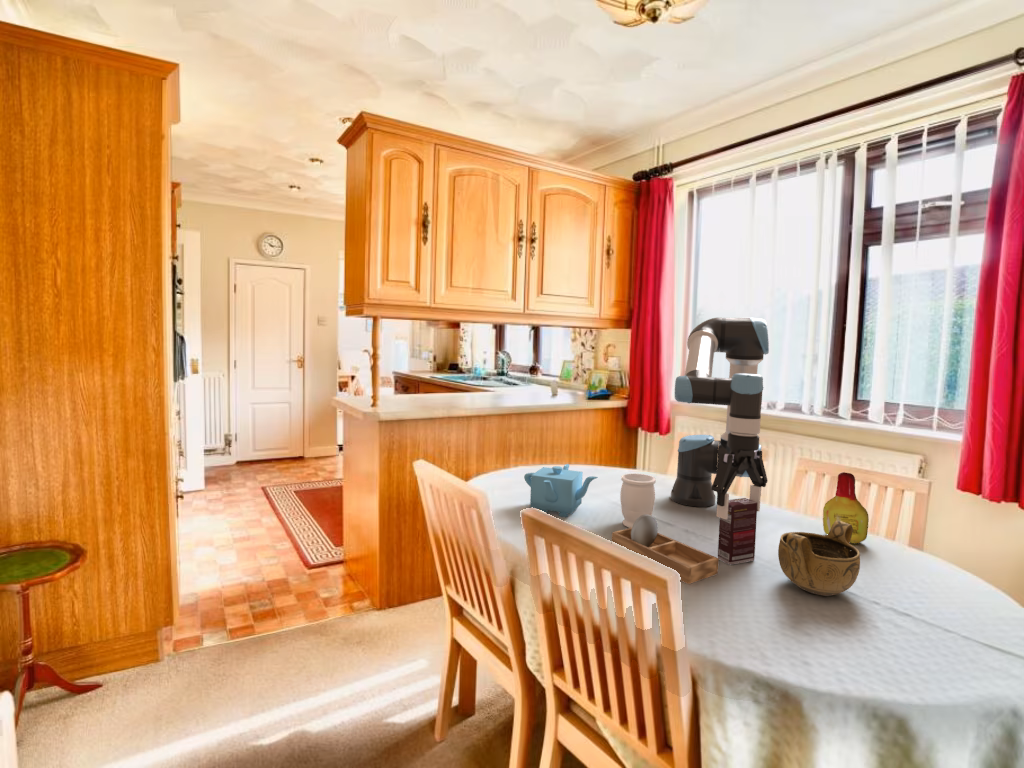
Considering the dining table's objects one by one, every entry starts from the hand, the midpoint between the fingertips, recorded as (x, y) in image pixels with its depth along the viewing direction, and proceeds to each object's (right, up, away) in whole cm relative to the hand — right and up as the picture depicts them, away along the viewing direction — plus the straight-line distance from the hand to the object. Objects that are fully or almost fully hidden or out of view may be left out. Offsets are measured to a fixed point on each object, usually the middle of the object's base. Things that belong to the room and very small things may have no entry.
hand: (738, 513), depth 145 cm
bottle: (+38, -12, +18) cm, 44 cm away
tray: (-20, -12, +1) cm, 23 cm away
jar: (-21, -10, +26) cm, 35 cm away
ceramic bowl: (+12, -15, -14) cm, 24 cm away
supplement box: (0, -13, +2) cm, 13 cm away
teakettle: (-44, -8, +38) cm, 58 cm away
